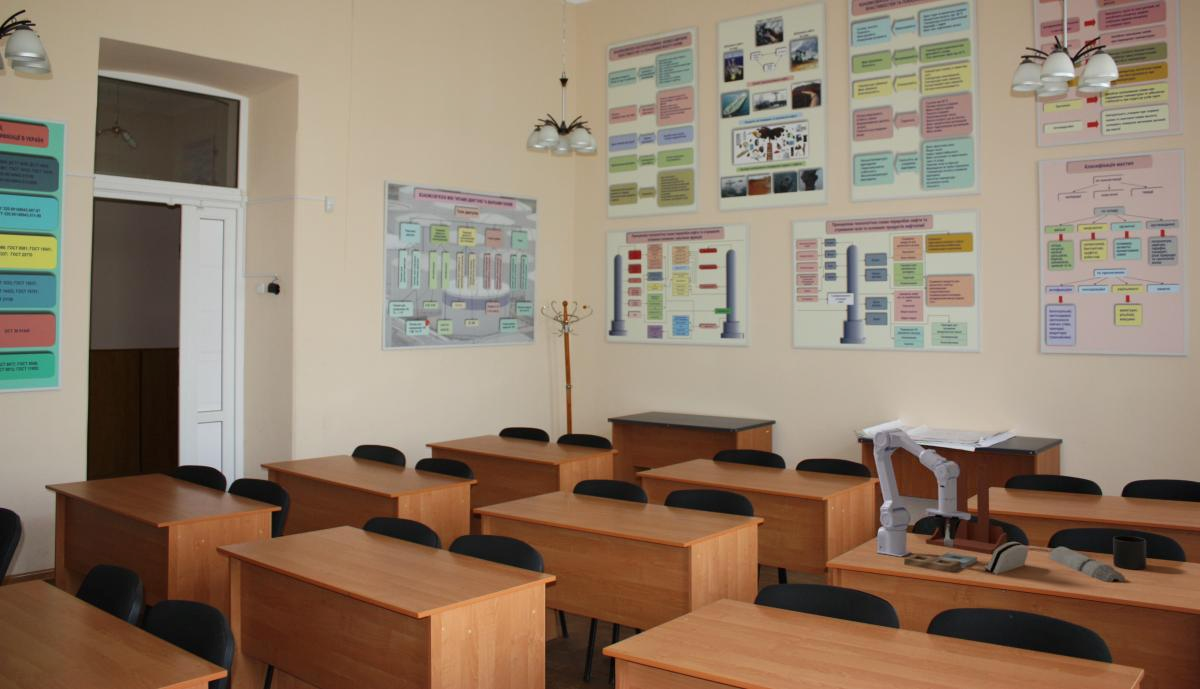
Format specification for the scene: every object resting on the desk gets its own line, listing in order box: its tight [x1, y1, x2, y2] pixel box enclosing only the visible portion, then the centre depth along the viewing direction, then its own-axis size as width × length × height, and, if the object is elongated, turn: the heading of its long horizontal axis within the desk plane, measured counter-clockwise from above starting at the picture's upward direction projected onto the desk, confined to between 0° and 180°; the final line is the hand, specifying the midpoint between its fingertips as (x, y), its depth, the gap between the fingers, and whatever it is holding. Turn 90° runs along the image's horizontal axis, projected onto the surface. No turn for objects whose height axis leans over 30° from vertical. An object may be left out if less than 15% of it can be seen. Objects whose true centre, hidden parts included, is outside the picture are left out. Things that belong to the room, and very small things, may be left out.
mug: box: [1112, 535, 1147, 571], centre depth 310 cm, size 9×12×9 cm
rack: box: [903, 553, 962, 573], centre depth 315 cm, size 16×8×2 cm, turn 46°
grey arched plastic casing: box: [982, 541, 1029, 575], centre depth 309 cm, size 17×5×10 cm, turn 125°
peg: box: [944, 525, 953, 548], centre depth 315 cm, size 3×3×7 cm
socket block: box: [937, 552, 978, 568], centre depth 319 cm, size 10×10×2 cm
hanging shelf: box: [925, 460, 1008, 555], centre depth 341 cm, size 24×13×30 cm, turn 43°
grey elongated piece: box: [1048, 546, 1126, 583], centre depth 307 cm, size 9×4×30 cm
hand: (948, 538), depth 314 cm, fingers closed on peg, 3 cm apart
